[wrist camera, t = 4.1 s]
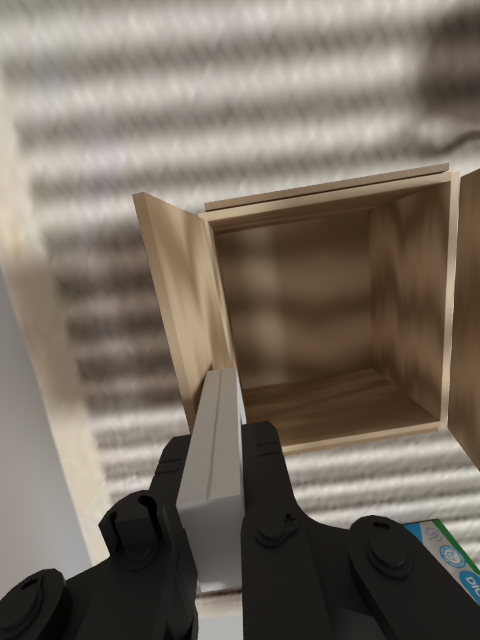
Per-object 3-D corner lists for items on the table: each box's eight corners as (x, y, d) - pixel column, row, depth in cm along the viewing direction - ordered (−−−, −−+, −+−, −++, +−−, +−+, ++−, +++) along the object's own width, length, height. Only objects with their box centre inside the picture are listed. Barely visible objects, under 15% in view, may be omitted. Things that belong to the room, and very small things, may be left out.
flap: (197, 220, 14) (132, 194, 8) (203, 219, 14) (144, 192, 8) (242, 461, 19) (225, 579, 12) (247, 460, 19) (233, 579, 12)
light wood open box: (209, 225, 25) (195, 204, 15) (369, 198, 25) (460, 160, 15) (239, 396, 29) (244, 464, 20) (374, 374, 29) (446, 431, 20)
